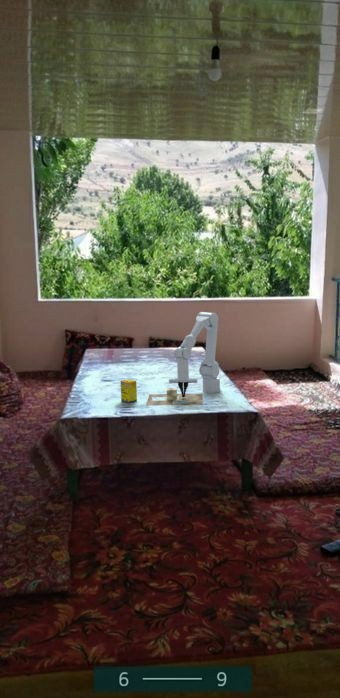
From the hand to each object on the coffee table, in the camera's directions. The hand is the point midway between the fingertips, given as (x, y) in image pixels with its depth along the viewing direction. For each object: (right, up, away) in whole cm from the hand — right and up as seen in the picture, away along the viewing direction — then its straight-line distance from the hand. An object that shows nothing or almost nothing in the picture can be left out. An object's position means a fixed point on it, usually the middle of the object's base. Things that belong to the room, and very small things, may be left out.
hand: (183, 396), depth 268 cm
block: (-6, -1, 0) cm, 6 cm away
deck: (-4, -3, -1) cm, 5 cm away
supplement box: (-28, -3, +3) cm, 28 cm away
